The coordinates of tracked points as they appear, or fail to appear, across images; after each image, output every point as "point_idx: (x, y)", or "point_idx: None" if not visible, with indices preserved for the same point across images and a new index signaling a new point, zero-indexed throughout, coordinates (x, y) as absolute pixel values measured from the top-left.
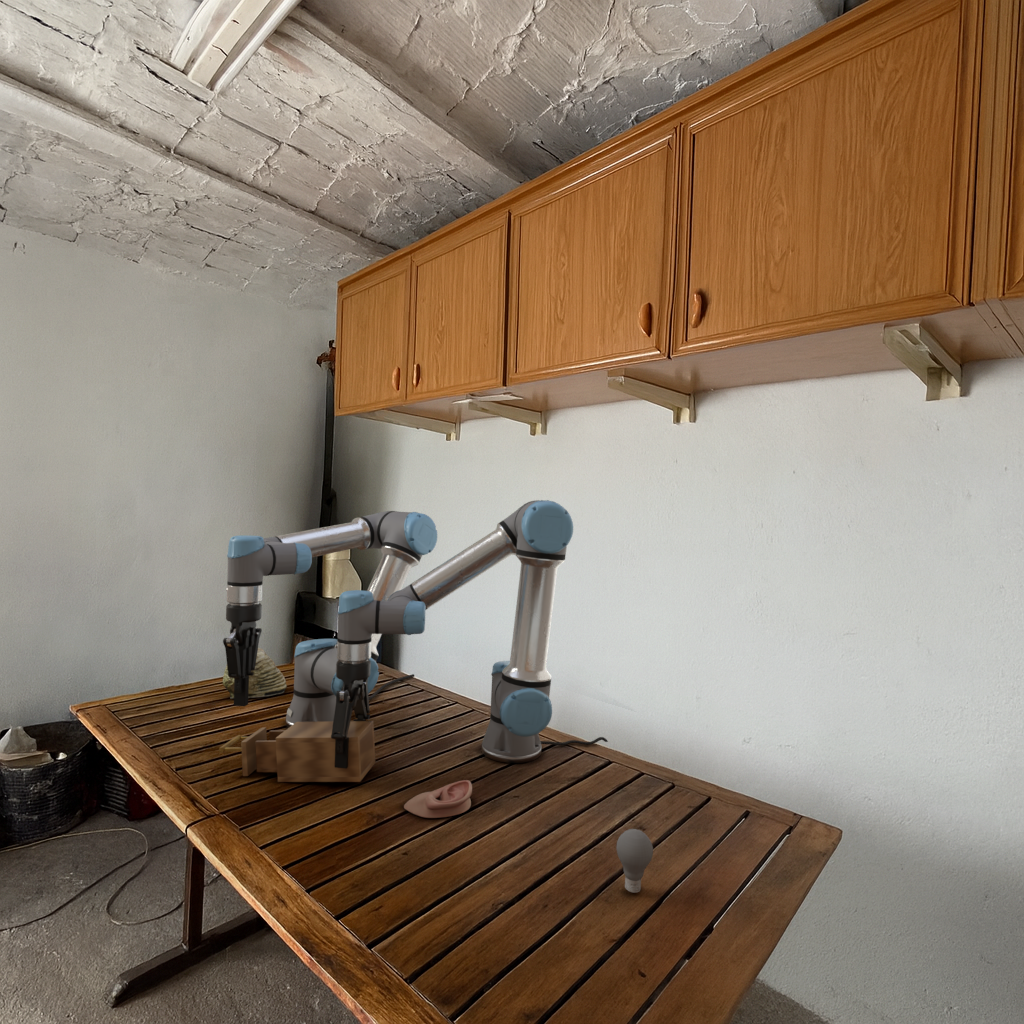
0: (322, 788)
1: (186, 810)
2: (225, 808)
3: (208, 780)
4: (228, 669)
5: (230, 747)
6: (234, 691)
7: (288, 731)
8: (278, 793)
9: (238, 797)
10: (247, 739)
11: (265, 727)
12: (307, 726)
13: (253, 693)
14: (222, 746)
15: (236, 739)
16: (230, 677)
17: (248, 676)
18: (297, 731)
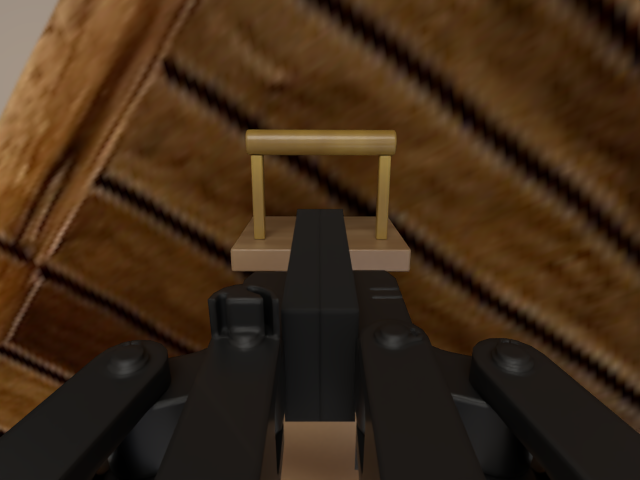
0: None
1: (12, 171)
2: (67, 266)
3: (203, 118)
4: (17, 438)
5: (260, 177)
6: (250, 276)
7: (296, 423)
8: (190, 350)
9: (134, 267)
10: (258, 264)
11: (407, 269)
12: (352, 469)
13: None
14: (254, 143)
15: (352, 153)
16: (228, 293)
17: (352, 418)
18: (295, 456)
